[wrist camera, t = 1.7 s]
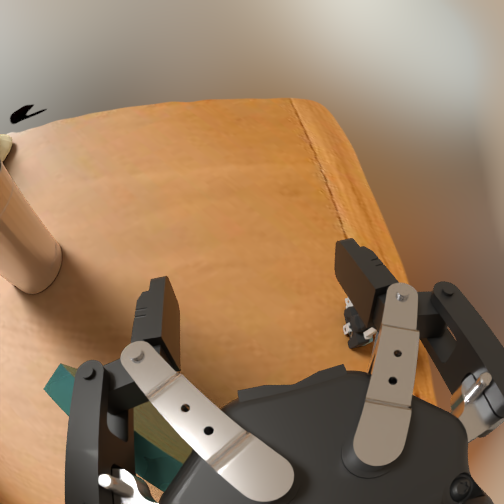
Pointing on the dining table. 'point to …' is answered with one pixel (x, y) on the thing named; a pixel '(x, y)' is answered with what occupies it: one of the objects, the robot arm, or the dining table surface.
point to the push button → (356, 327)
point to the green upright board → (135, 433)
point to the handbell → (5, 146)
